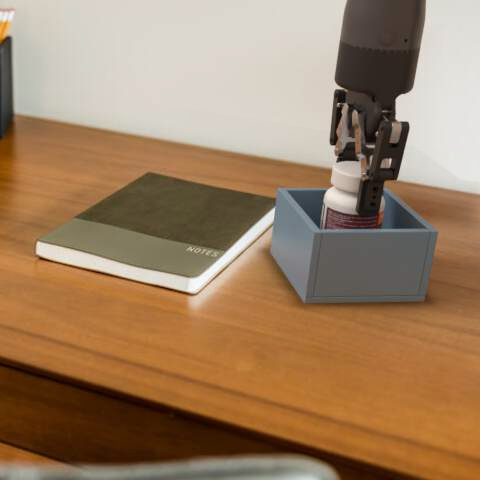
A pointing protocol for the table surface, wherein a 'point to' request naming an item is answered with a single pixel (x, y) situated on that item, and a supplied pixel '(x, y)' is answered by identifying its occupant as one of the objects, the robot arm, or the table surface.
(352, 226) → the pill bottle
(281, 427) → the table surface
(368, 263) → the bin
